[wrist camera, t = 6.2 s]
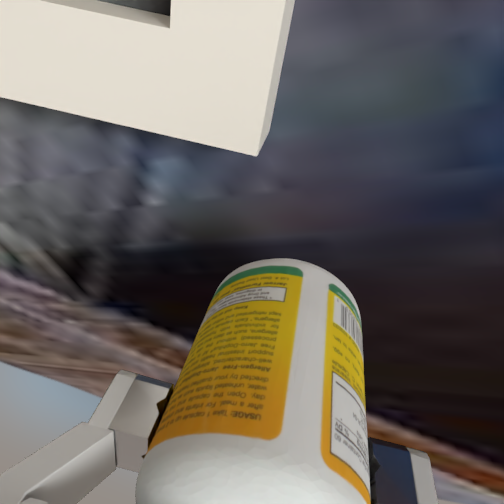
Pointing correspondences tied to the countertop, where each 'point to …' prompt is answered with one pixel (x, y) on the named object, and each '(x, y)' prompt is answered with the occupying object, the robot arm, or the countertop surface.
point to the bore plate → (151, 64)
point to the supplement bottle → (267, 397)
